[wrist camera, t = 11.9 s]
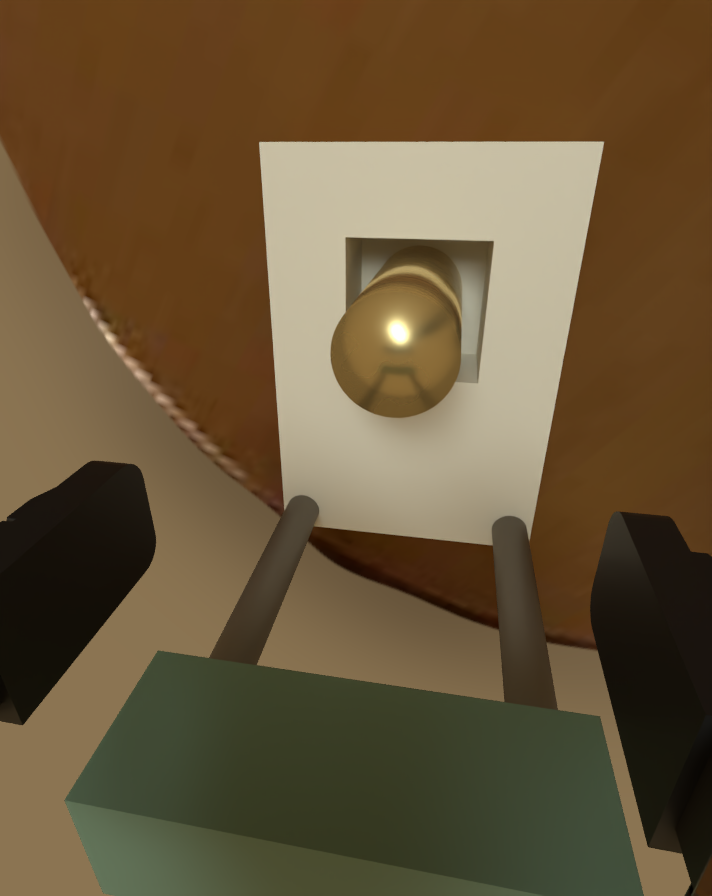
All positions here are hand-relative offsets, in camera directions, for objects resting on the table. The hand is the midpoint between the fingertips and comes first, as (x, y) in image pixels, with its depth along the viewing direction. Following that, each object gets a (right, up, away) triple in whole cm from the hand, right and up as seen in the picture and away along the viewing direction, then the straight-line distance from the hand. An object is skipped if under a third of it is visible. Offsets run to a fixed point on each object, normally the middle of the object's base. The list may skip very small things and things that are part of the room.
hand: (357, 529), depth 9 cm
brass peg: (+3, +9, +16) cm, 18 cm away
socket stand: (+3, +7, +18) cm, 19 cm away
